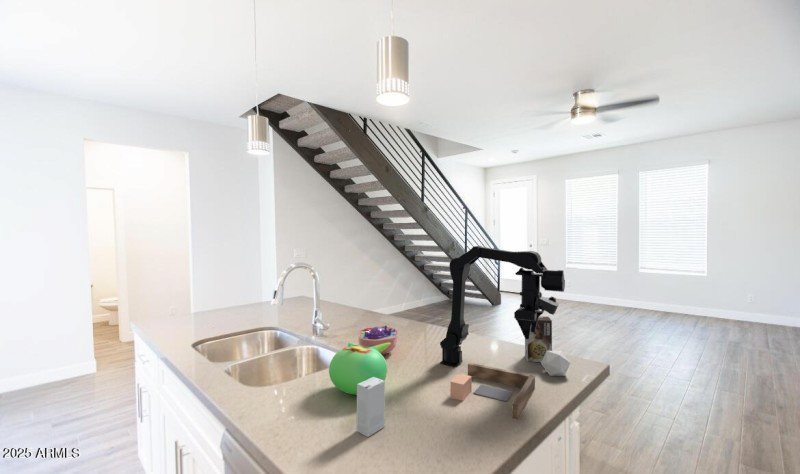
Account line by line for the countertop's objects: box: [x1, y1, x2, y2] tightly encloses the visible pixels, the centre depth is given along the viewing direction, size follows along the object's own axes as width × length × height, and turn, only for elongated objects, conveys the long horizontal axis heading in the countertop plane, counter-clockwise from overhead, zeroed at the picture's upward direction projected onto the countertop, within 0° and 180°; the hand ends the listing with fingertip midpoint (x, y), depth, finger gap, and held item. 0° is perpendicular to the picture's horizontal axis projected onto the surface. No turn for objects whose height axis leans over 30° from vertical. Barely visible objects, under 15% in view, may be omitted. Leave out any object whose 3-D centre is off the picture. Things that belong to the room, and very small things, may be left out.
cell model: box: [357, 325, 399, 356], centre depth 148 cm, size 17×20×11 cm
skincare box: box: [356, 377, 386, 437], centre depth 91 cm, size 6×4×12 cm
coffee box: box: [524, 315, 553, 363], centre depth 140 cm, size 9×6×16 cm
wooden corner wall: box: [467, 362, 536, 421], centre depth 111 cm, size 22×22×4 cm
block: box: [449, 373, 473, 402], centre depth 110 cm, size 4×7×5 cm, turn 149°
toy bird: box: [328, 341, 391, 396], centre depth 112 cm, size 18×17×15 cm
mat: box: [473, 384, 514, 403], centre depth 111 cm, size 10×7×1 cm
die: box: [540, 350, 571, 377], centre depth 126 cm, size 8×9×10 cm
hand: (530, 335), depth 121 cm, fingers open, 9 cm apart
